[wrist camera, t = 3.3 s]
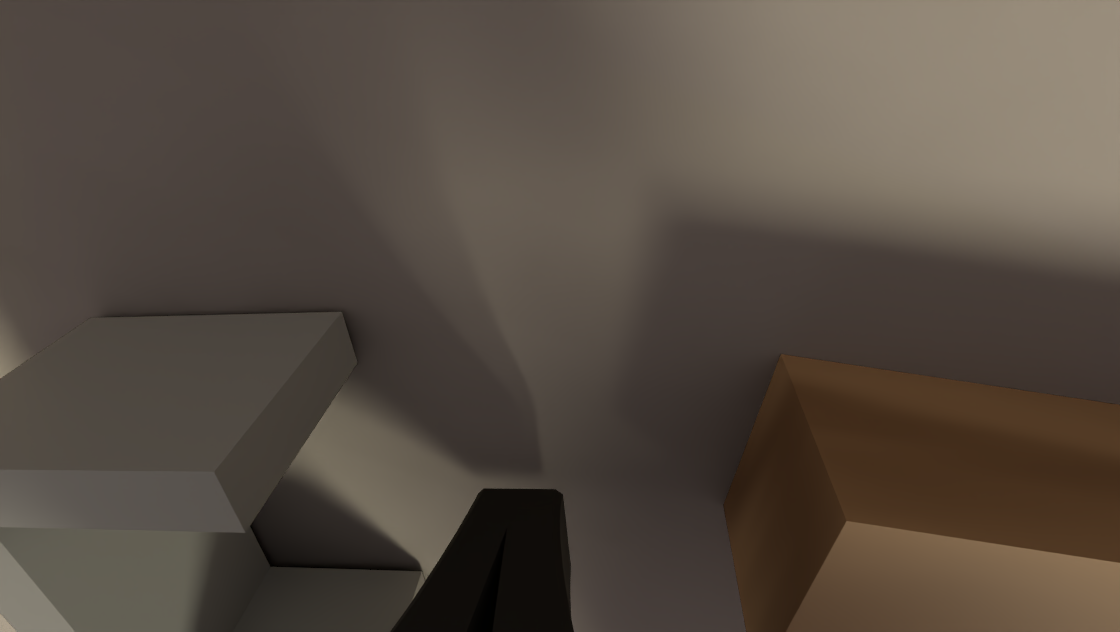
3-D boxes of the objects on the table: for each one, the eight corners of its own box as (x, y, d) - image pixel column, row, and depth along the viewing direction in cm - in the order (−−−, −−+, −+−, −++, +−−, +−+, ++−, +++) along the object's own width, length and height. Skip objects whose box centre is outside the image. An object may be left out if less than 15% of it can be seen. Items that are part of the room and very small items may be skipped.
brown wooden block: (1248, 576, 11) (1473, 800, 8) (721, 495, 11) (756, 686, 8) (1407, 439, 9) (1768, 662, 6) (777, 345, 10) (846, 521, 7)
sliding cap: (430, 600, 13) (375, 784, 10) (244, 593, 14) (140, 767, 11) (342, 311, 10) (214, 472, 7) (90, 317, 10) (-132, 467, 7)
